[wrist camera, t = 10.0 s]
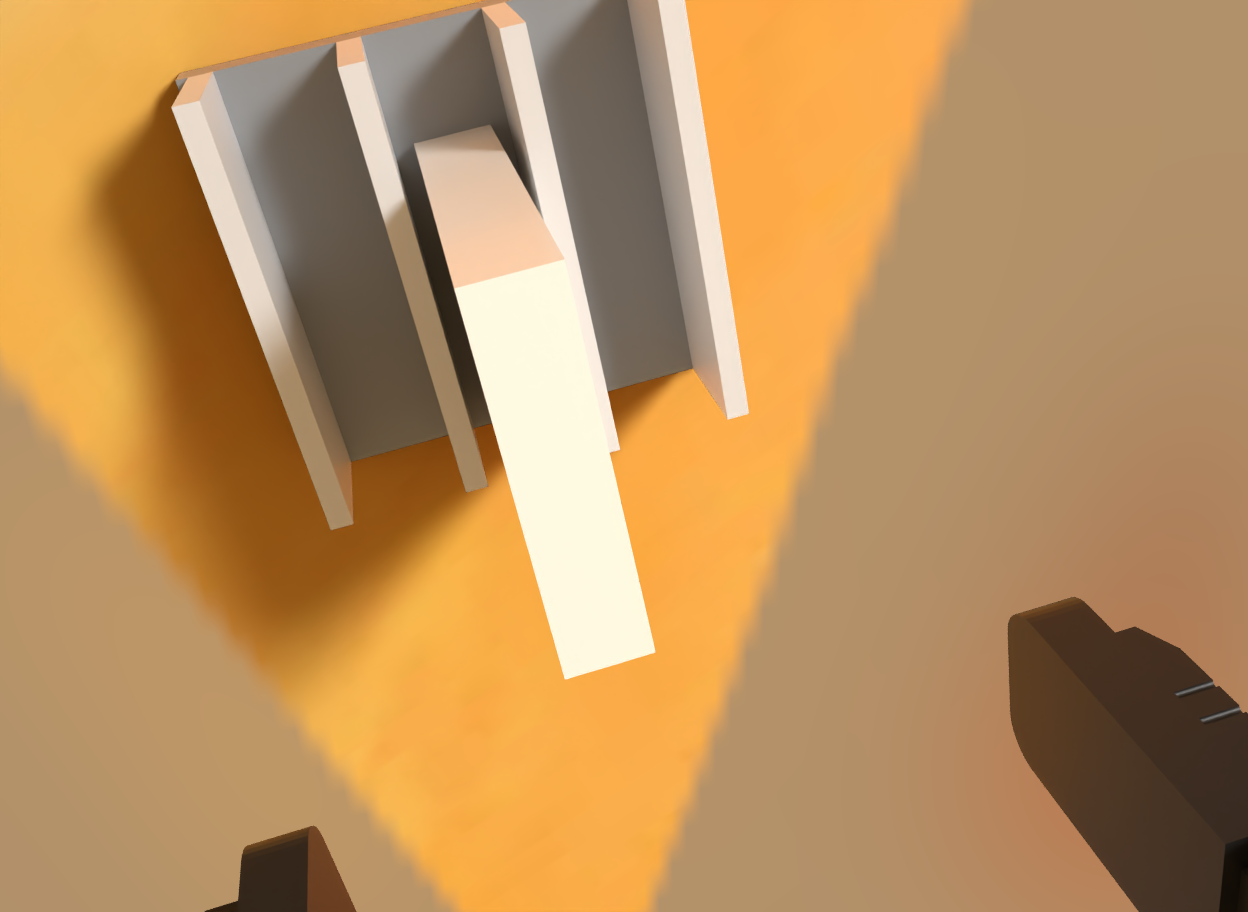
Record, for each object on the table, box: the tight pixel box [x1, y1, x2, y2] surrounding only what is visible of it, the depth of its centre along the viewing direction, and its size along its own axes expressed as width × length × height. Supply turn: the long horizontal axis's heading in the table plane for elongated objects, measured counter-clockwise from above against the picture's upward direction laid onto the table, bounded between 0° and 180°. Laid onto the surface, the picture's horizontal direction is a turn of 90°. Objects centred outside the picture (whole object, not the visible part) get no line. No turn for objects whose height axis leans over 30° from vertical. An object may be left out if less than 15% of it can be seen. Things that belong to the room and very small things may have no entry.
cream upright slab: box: [414, 125, 655, 679], centre depth 28 cm, size 9×2×11 cm, turn 12°
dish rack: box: [171, 0, 749, 530], centre depth 31 cm, size 11×12×4 cm
